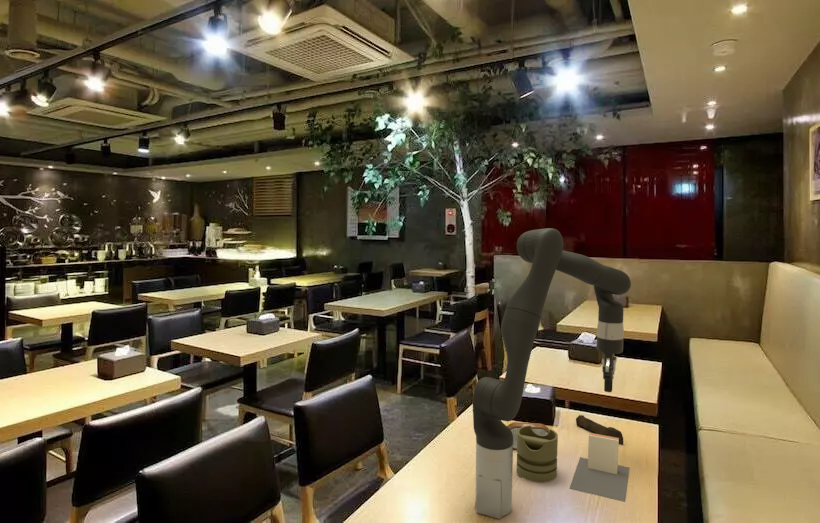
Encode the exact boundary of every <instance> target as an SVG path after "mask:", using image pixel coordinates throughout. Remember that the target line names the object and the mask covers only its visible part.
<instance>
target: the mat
mask: <svg viewBox="0 0 820 523" xmlns="http://www.w3.org/2000/svg"><path fill="white" fill-rule="evenodd" d="M577 462H578V463H577V465H576V468H575V471H574V475H573V477H572V480H571V483H570V485H569V490H573V491H578V492H581V493H586V494H590V495H594V496H598V497H603V498H607V499H610V500H614V501H615V500H616V501H618V502H619V501H621V502H624V503H626V500H627V499H626V498H627V493H628V492H627V491H628V485H629V477H630V470H631V469H630V467H629V466H625V465H619V464H618V472H617V474H613V473H608V472H604V471H599V470H594V469H590V468H588V458H585V457H582V456H580V457H579V459H578V461H577Z"/></svg>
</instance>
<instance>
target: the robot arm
mask: <svg viewBox="0 0 820 523" xmlns="http://www.w3.org/2000/svg"><path fill="white" fill-rule="evenodd" d="M516 251H517V253H518V255H519V258H521V259H522V260H523V261H525V262H527V263H528V264H529V263H530V264H531V268H530V270H529V272H528V275H526V277H525V279H524V280H523V282H522V283H521V284H520V285H519V287H518V288H517V289H516V290H515V292H514V293H512V294H513V295H512V296H511V297H510V298H509V300H508V302H507V304H506V307H505V310H504V314H503V315H502V316H503V317H502V320H501V325H500V333H501V337H502V341H503V342H502V343H503V346H504V349H505V352H506V358H507V364H506V365H507V366H506V371H505V376H504V380H500V379H497V378H494V377H491V376H490V377H489V376H484V377H482V378H480V379H479V380H478V381H476V382H477V383H476V384H475V387H474V389H473V393H472V416H473V417H472V420H473V430H474V434H475V443H476V444H475V508H476V511H475V512H476V513H477V514H480V515H484V516H488V517H491V518H495V519H499V520H500V519H501V518H502V517H505V516H507V515H509V514H510V513H511V512H512V510H513V469H514V468H513V466H514V465H513V464H514V463H513V462H514V461H513V460H514V459H513V458H514V457H513V456H514V455H513V454H514V449H513V433H512V431H511V430H510V429H509V428H508V427H507V426H508V425H506V424H505V423H504V422H511V421H512V420H514V419H515V417H516V416H517V415H518V413H519V411H520V410H519V409H520V407H521V404H522V399H523V395H524V388H525V382H526V377H527V371H528V366H529V362H530V359H531V358H530V357H531V354H532V350H533V347H534V346H533V345H534V343H535V340H536V336H537V333H538V330H539V327H540V323H541V320H542V315H543V310H544V306H545V303H546V300H547V297H548V293H549V290H550V286H551V283H552V281H553V278H554V276H555V273H556V271H557V272H561V273H562V274H563V273H564V274H566V275H568V276H571V277H572V278H574V279H576V280H579V281H581V282H582V283H585V284H586V285H587V284H588V285H590V286H593V289H594V290H593V291H594V293H595V294H594V295H595V298H596V302H597V305H598V318H597V319H598V320H597V326H596V350H597V351H598V352H600V353H603V354H604V355H603V354H602V358H601V365H602V368H601V369H602V378H603V380H604V382H603V383H604V385H603V386H604V387H603V390H604V392H606V393H612V392H613V382H614V381H613V380H614V378H615V376H614V375H615V372H616V365H617V361H618V359H617V358H618V357H617V356H615V354H617V355H618V354H621V353H623V352H624V336H625V335H624V329H625V328H624V305H623V304H622V302H620V301H617V300H615V298H614V295H616V296H622V295H625V294H626V293H628V292H629V291H630V289H631V287H632V281H631V279H630V276H629V275H628V274H627V273H626V272H624V271H623V270H621V269H617V268H616V267H615V268H614V267H611V266H607V265H604V264H602V263H600V262H599V261H597V260H594V259H593V258H591V257H589V256H587V255H584V254H580V253H577V252H576V253H575V252H572V251H567V250H564V239H563V236H562V234H561V232H560V231H559V230H558V229H556V228H550V227H548V228H547V227H546V228H540V229H539V228H538V229H532V230H528V231H525V232H523V233H522V234H520V236H519V237H518V238H517V242H516Z"/></svg>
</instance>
